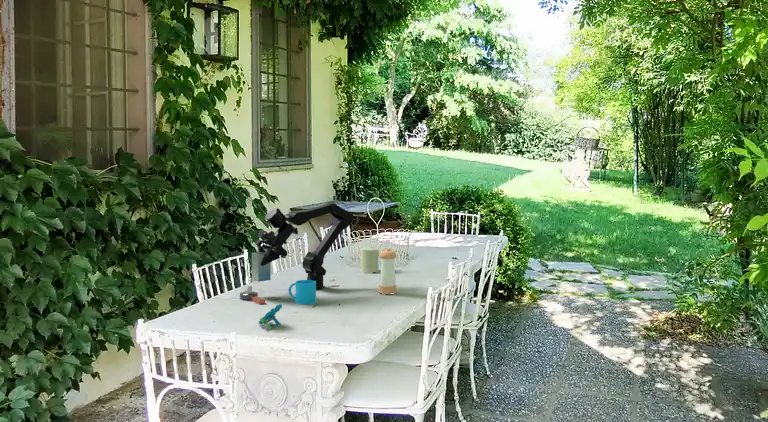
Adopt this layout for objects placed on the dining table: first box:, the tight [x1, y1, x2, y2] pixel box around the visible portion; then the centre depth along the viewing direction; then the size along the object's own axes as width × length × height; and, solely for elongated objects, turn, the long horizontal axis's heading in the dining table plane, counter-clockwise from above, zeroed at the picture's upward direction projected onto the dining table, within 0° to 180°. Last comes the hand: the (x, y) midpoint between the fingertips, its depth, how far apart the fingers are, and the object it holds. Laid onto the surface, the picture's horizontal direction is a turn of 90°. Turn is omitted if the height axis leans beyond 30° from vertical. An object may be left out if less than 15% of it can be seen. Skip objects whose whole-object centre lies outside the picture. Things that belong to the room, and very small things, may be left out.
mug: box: [288, 279, 317, 305], centre depth 259 cm, size 12×8×8 cm
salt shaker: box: [378, 248, 397, 295], centre depth 274 cm, size 7×7×19 cm
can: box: [359, 246, 379, 274], centre depth 321 cm, size 9×9×12 cm
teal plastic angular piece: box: [258, 303, 283, 329], centre depth 224 cm, size 11×6×10 cm
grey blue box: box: [251, 251, 272, 283], centre depth 265 cm, size 6×6×11 cm
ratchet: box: [239, 285, 266, 305], centre depth 260 cm, size 7×15×5 cm, turn 38°
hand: (258, 264), depth 264 cm, fingers closed on grey blue box, 6 cm apart
